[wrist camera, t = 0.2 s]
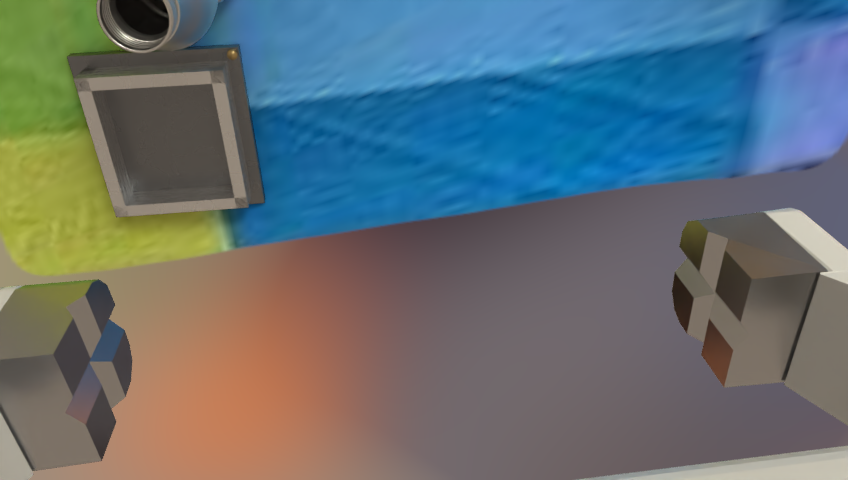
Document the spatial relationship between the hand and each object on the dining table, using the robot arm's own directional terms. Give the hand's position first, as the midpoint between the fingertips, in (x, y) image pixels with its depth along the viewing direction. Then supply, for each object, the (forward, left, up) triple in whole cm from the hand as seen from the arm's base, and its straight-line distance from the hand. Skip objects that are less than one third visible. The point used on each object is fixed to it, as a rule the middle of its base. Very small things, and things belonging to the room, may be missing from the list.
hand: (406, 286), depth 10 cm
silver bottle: (+2, -11, -48) cm, 49 cm away
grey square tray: (+16, -16, -47) cm, 53 cm away
